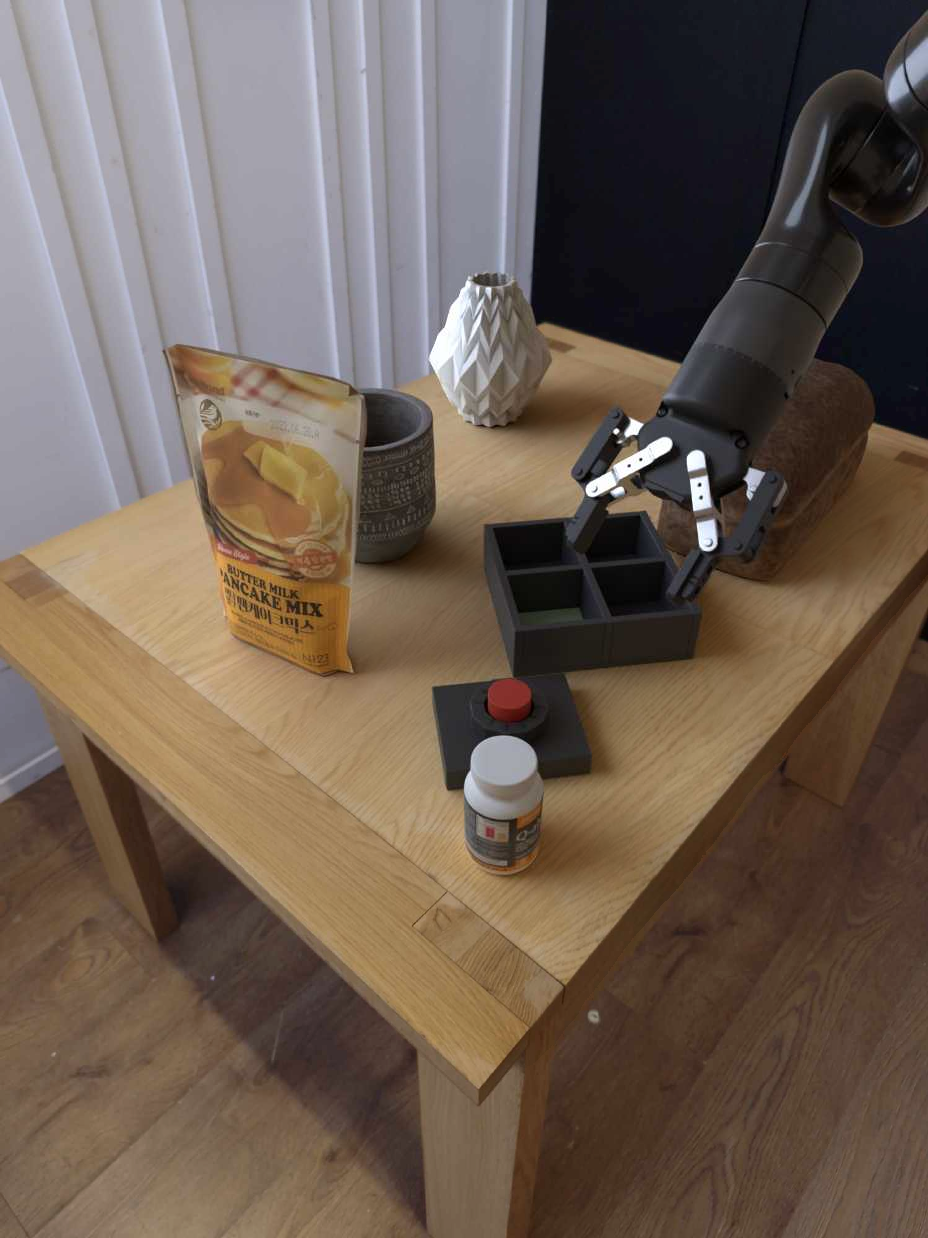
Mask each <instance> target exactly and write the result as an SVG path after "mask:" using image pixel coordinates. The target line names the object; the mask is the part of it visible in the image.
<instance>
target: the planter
mask: <svg viewBox="0 0 928 1238" xmlns="http://www.w3.org/2000/svg"><path fill="white" fill-rule="evenodd" d="M354 389H355V390H356V391H357V392H359V393H360V394H362V395H363V396H364V398H365V405H366V412H367V433H366V439H365V444H364V450H363V461H362V475H361V495H360V518H359V523H358V527H357V543H356V554H355V563H361V564H380V563H385V562H389V561H394V560H396V559H398V558H401V557H403V556H405V555H406V554H408V553H409V552H410V551H411V550H413V548H414V547H415V545H416V544H417V543H418V542H419V540H420V539H421V537H422V536H423V535H424V534H425V532H426V530H427V529H428V527H429V525H430V524H431V522H432V521H433V518H434V516H435V514H436V509H437V488H436V487H437V485H436V475H435V474H436V458H435V457H436V455H435V438H434V437H435V435H434V416H433V411H432V409H431V407H430V406H429V405H428V404H427V403H426V402H424V401H423V400H422V399H421V398H419V397H417V396H414V395H412V394H409V393H406V392H403V391H399V390H394V389H387V388H375V387H367V388H365V387H364V388H354Z"/></svg>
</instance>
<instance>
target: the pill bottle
mask: <svg viewBox="0 0 928 1238" xmlns="http://www.w3.org/2000/svg"><path fill="white" fill-rule="evenodd" d="M537 769H538V760H537V756H536V753H535V751H534V750H533V748H532V747H531V746H530V745H529V744H528V743H526V742H525V741H523V740H521V739H519V738H516V737H512V736H495V737H491V738H488V739H486V740H484V741H483V742H481V743H480V744H479V745H478V746H477V747H476V748H475V749H474V751H473V753H472V756H471V770H470V772H469V773H468V775H467V777H466V780H465V784H464V788H463V811H464V813H463V814H464V845H465V850H466V853H467V856H468V857H469V859H470V861H472V863H473V864H474V865H475V866H476V867H477V868H479V869H481V870H482V871H484V872H487V873H490V874H492V875H498V876H499V875H502V876H504V875H505V876H507V875H513V874H517V873H519V872H521V871H523V870H525V869H527V868H528V867H529V866H530V865H531V864H532V863H533V862H534V860H535V859H536V858H537V856H538V853H539V849H540V843H541V832H542V819H543V818H542V817H543V816H542V815H543V806H544V805H543V804H544V796H545V795H544V794H545V788H544V783H543V779H541V777H540V775H539V773H538V771H537Z"/></svg>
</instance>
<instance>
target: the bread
mask: <svg viewBox="0 0 928 1238" xmlns="http://www.w3.org/2000/svg"><path fill="white" fill-rule="evenodd" d="M875 414H876V407H875V402H874V396H873V394H872V391H871V389H870V388H869V386H868V384H867V382H866V380H864V379H863V378H862V377H860V376H859V375H858V374H857V373H856V372H854V370H852V368H848V367H847V366H844V365H842V364H840V363H835V362H828V361H824V360H821V359H818V358H815V357H813V359H812V361H811V364H810V365H809V367H808V369H807V371H806V373H805V374H804V378H803V380H802V382H801V384H800V386H799V388H798V389H797V390H796V391H795V392H794V393H793V395H792V396H791V398H790V400H789V401H788V403H787V405H786V406H785V408H784V410H783V412H782V413H781V415H780V417H779V418H778V420H777V422H776V423H775V425H774V427H773V428H772V430H771V432H770V434H769V435H768V437H767V439H766V440H765V442H764V444H763V445H762V447H761V449H760V450H759V452H758V453H757V454H756V455H755V457H754V459H753V462H752V468H754V469H757V470H760V471H763V472H768V471H770V470H776V471H778V472H780V474H781V475H782V477H783V478H784V480H785V482H786V484H787V486H788V488H789V493H788V496H787V498H786V499H785V501H784V503H783V505H782V507H781V509H780V511H779V513H778V515H777V517H776V519H775V521H774V523H773V525H772V526H771V528H770V530H769V532H768V534H767V536H766V538H765V540H764V542H763V544H762V546H761V548H760V550H759V551H758V553H757V555H756V557H755V559H754V561H753V562H752V563H750V564H748V565H743V564H741V563H739V562H732V561H723V562H721V563H719V564H718V565H717V566H716V567H715V569H718V570H720V571H723V572H726V573H728V574H731V575H735V576H738V577H741V578H744V579H745V578H746V579H751V580H756V581H769V580H770V579H771V578H772V577H773V575H774V574H775V573H776V572H777V571H778V570H779V569H780V568H781V567H782V565H784V564H785V562H786V561H787V560H788V559H789V558H790V557H791V556H792V555H793V553H795V552H796V550H797V549H798V548H799V546H800V545H801V544H802V542H804V540H805V539H807V537H808V536H809V535H810V534H811V532H813V530H814V528H815V527H816V526H817V525H818V523H819V522H820V521H821V520H822V519H823V518H824V516H825V515H826V514H827V512H828V511H829V510H830V509H831V508H832V506H833V505H834V504H835V503H836V501H837V500H838V498H840V495H841V494H842V492H843V491H844V490H845V489H846V488H847V486H848V485H849V484H850V483H851V482H852V480H853V479H854V477H855V476H856V473H857V471H858V470H859V468H860V465H861V464H862V460H863V459H864V455H865V452H866V449H867V445H868V440H869V431H870V429H871V428H872V426H873V424H874V420H875ZM747 490H748V485H747V484H746V485H745V486H743V487H742V488H740V489H738V490H736V491H734V492H732V493H730V494H728V495H726V496H725V497H723V498H722V503H723V511H724V519H725V528H724V532H725V538H731V537H732V536H733V534H734V532H735V530H736V528H737V526H738V524H739V522H740V520H741V518H742V516H743V514H744V512H745V510H746V508H747V507H748V505H749V503H750V500H749V499H748V497H747ZM661 500H662V501H661V504H660V508H659V514H658V520H657V526H656V530H657V532H658V534H659V536H660V537H661V539H662V541H663V543H664V545H665V546H666V548H667V549H670V550H672V551H674V552H675V553H678V554H681V555H682V556H685V557H687V556H688V554H689V552H690V551H691V549H692V548H694V549H696V550H697V549H698V547H699V538H698V529H697V522H696V518H695V516H694V510H691V511H690V512H689V511H687V510H685V509H682V508H680V507H679V506H678V505H677V504H676V503H675V502H674V501H671V500H664V499H661Z"/></svg>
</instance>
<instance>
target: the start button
mask: <svg viewBox="0 0 928 1238" xmlns="http://www.w3.org/2000/svg"><path fill="white" fill-rule="evenodd" d="M530 710H531V690H530V688H529V687H528V686H527V685H526V684H525V683H523V682H521V681H519V680H515V679H503V680H499V681H497V682H495V683H494V684H492V686H491V687H490V688H489V690H488V712H489V714H490V715H491V716H492V717H493V718H494V719H495V720H497V721H500V722H504V723H515V722H521V721H523V720H524V719H526V718H527V717H528V715H529V714H530Z"/></svg>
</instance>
